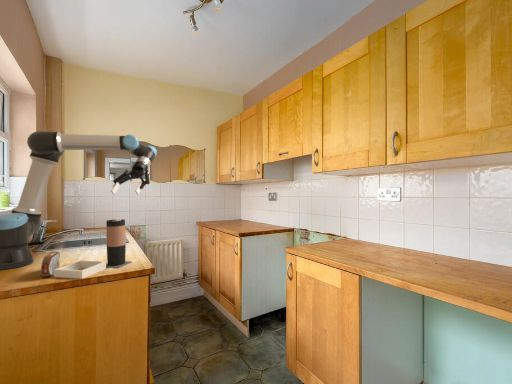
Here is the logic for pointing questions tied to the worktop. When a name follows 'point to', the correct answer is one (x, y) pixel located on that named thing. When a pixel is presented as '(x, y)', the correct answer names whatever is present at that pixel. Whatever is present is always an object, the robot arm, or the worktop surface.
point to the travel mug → (116, 242)
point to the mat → (119, 265)
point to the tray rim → (72, 271)
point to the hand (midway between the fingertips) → (124, 192)
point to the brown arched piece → (50, 264)
